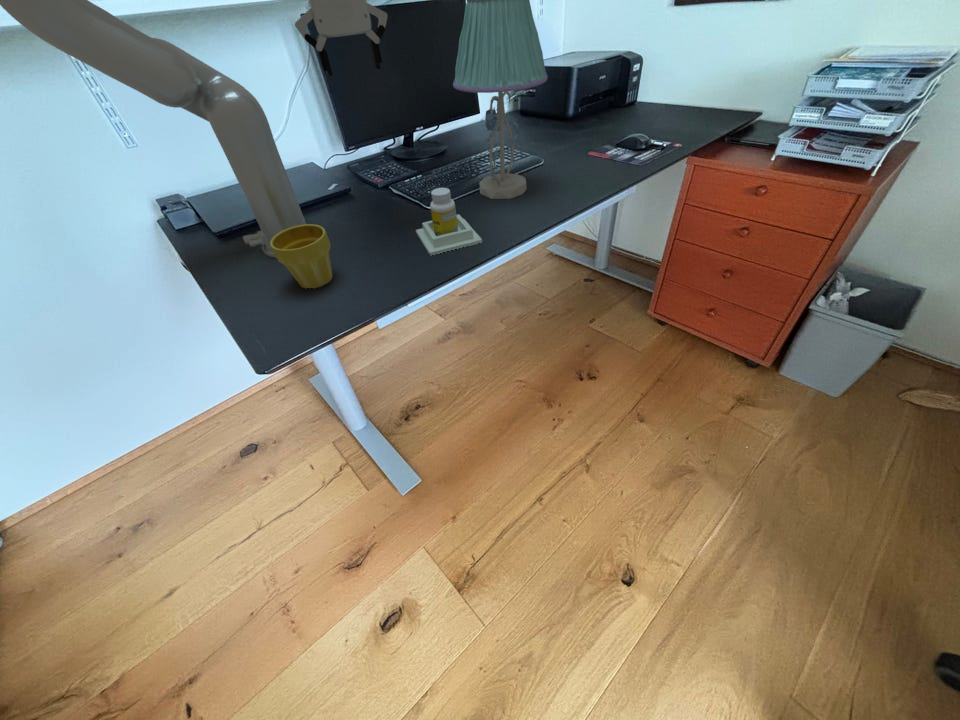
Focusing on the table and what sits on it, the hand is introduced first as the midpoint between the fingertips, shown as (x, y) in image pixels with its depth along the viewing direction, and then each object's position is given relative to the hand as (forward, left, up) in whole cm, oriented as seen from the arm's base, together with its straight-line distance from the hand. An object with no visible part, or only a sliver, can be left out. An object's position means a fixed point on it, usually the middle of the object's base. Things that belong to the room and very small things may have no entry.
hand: (354, 71), depth 82 cm
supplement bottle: (+10, -19, -30) cm, 37 cm away
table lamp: (+32, 0, -31) cm, 44 cm away
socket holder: (+10, -19, -30) cm, 37 cm away
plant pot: (-20, -23, -31) cm, 43 cm away
